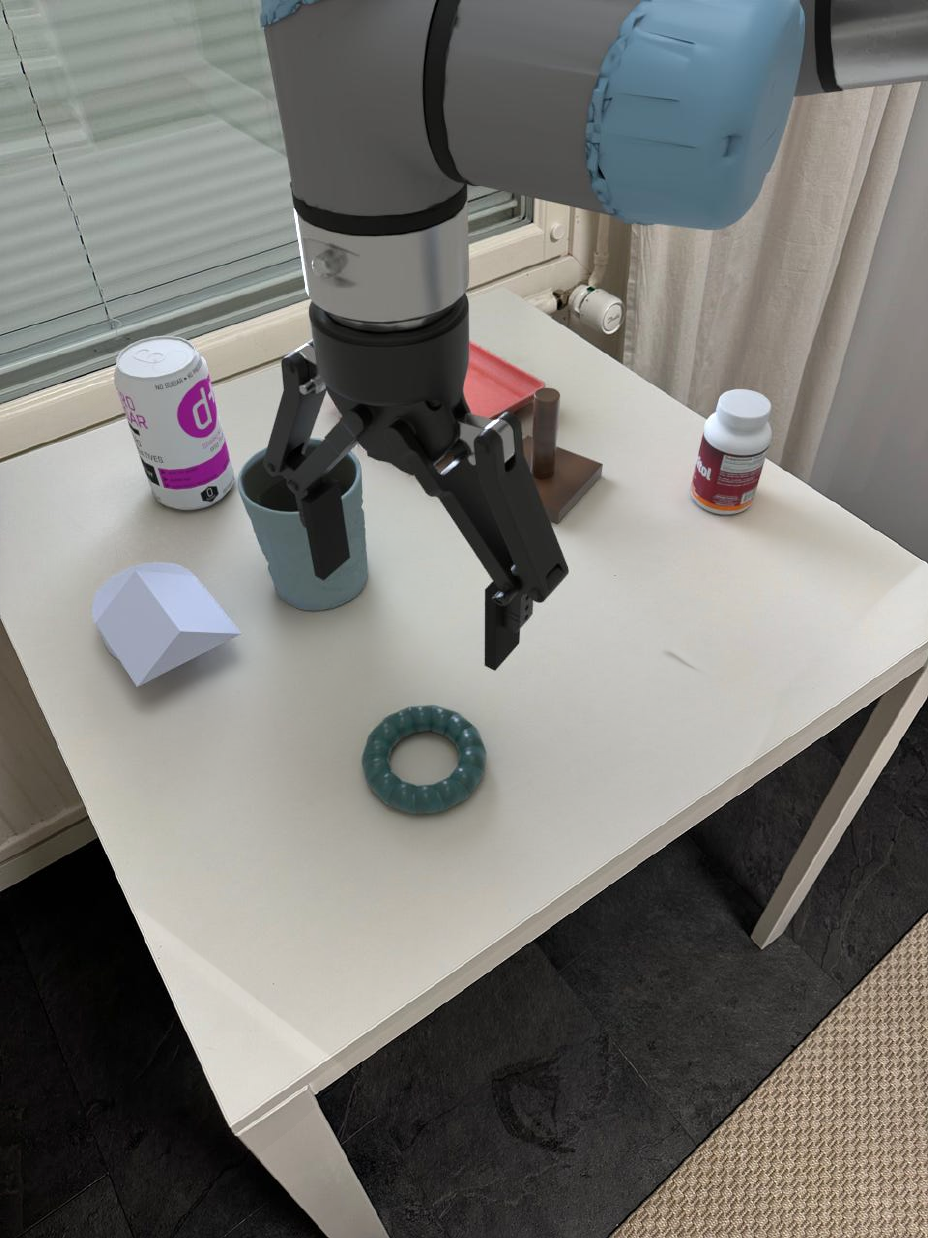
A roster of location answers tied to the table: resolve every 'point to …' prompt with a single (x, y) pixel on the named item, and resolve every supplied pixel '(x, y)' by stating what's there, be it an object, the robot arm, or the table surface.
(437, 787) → the teal beaded ring
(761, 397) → the pill bottle
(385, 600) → the table surface
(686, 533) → the table surface
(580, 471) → the stand
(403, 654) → the table surface
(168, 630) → the wedge on round base
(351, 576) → the blue-grey embossed cup
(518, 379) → the plant saucer
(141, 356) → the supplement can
